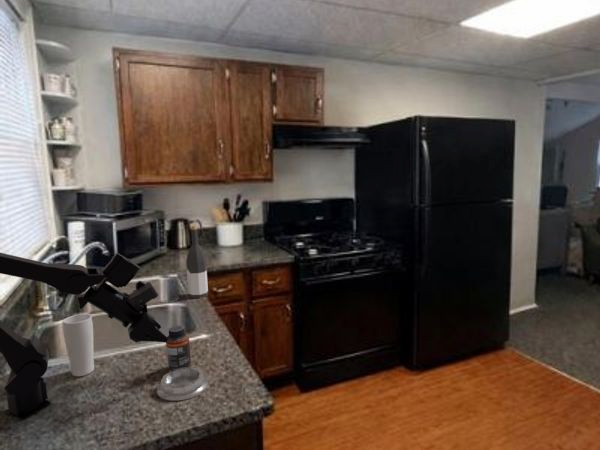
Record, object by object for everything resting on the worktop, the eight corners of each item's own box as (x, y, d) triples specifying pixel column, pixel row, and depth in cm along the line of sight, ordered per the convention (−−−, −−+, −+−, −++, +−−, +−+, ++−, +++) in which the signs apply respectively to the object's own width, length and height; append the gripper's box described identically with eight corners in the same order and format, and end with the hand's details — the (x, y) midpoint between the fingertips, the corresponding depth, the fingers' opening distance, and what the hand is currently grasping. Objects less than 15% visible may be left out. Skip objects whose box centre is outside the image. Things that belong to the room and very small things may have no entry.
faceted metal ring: (186, 405, 87) (185, 395, 87) (146, 394, 92) (145, 385, 92) (217, 379, 98) (217, 369, 98) (180, 370, 103) (179, 361, 102)
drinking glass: (91, 363, 108) (85, 311, 106) (102, 370, 104) (96, 317, 102) (64, 373, 103) (57, 319, 101) (74, 381, 99) (68, 325, 96)
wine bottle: (209, 296, 163) (205, 226, 159) (189, 299, 160) (184, 227, 156) (206, 291, 170) (202, 223, 166) (187, 294, 167) (182, 225, 163)
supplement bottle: (180, 360, 108) (177, 322, 107) (196, 365, 105) (193, 326, 104) (163, 370, 103) (159, 330, 102) (178, 376, 100) (175, 334, 98)
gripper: (140, 284, 88) (193, 319, 95) (130, 267, 104) (175, 299, 111) (105, 325, 85) (162, 358, 92) (100, 301, 101) (149, 331, 108)
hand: (163, 334), depth 101 cm, fingers open, 9 cm apart
